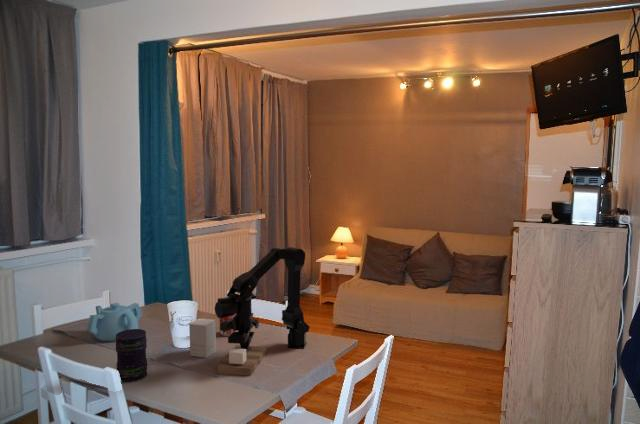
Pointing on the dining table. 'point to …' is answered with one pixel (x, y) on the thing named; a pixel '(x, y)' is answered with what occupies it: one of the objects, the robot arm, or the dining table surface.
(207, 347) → the supplement box
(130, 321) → the teapot
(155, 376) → the dining table surface
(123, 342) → the storage jar
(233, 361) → the fader knob
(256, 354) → the brown flat block
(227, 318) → the soda can
